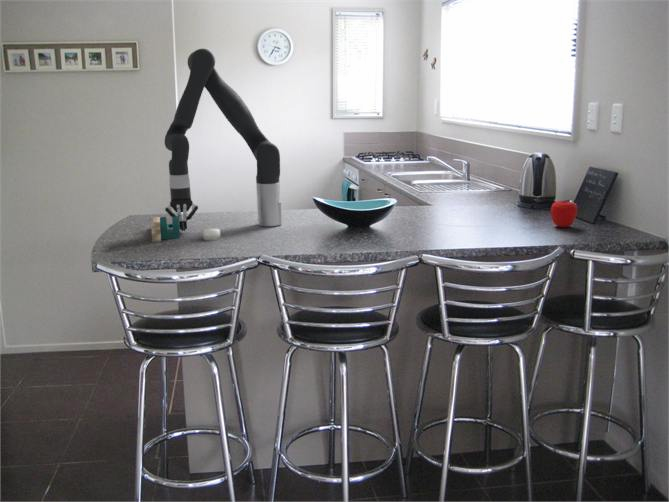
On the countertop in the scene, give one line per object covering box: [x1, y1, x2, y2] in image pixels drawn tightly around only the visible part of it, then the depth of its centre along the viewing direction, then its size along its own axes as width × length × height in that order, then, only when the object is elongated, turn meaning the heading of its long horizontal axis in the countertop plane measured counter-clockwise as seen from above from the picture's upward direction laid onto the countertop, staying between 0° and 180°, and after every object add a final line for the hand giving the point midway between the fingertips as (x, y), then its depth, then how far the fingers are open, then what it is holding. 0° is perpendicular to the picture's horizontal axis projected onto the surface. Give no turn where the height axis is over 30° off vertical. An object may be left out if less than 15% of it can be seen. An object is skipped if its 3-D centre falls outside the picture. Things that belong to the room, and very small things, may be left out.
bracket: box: [159, 215, 181, 240], centre depth 257 cm, size 18×7×8 cm, turn 13°
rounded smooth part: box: [202, 227, 221, 241], centre depth 248 cm, size 6×6×4 cm
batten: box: [151, 216, 162, 243], centre depth 255 cm, size 3×24×5 cm, turn 13°
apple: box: [550, 199, 579, 228], centre depth 258 cm, size 10×10×11 cm
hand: (183, 230), depth 258 cm, fingers closed
